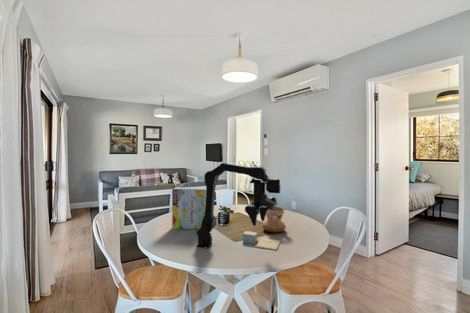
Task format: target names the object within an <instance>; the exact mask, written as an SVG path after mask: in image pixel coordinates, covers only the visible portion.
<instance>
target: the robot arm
mask: <svg viewBox="0 0 470 313" xmlns="http://www.w3.org/2000/svg"><path fill="white" fill-rule="evenodd" d="M225 172H229V173H236V174H242V175H247V176H249V177H251V180H250V181H249V183H250V184H253V193H252V194H251V197H253V201H252V202H251V204H248V205H246V206H245V207H244V212H245V213H246V214H247V215H248V217H249V219H250V221H251V223H252V225H253V226H256V225H257V220H258V216H259V215H260V216H259V217H260V220H261V222H265V219H266V217H267V216H266V212H267V210H268V209H271V210H272V209H273V208H275V207H276V205H277V204H278V203H277V202H278V201H277V198H276V197H271V198H270V197H268V194H267V193H266V192H268V193H270V194H281V180H280V179H277V178H276V179H274V178H273V179H272V178H270V177H269V176H268V174H267V170H266V169H265V168H264V166H245V165H244V166H243V165H238V164H233V163H232V164H231V163H228V162H221V163H220V165H218V166H216V167H214V168H213V169H212V170H208V171H207V172H205V173H204V178H203V179H204V185H205V188H207V190H206V204H205V215H204V218H203V220H202V224H201V228H200V229H197V231H196V232H195V233H196V235H197V244H196V245H195V246H196V247H199V248H206V249H208V248H209V247H210V246H211V245H213V236H212V233H211V232H212V231H213V229H215V227H216V226H218V225H217V220H218V218H217V217H215V215H214V208H215V207H214V206H215V194H216V187H217V185H218V182H219V179H220V178H219V177H220V176H221V175H223V174H224V173H225Z"/></svg>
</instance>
